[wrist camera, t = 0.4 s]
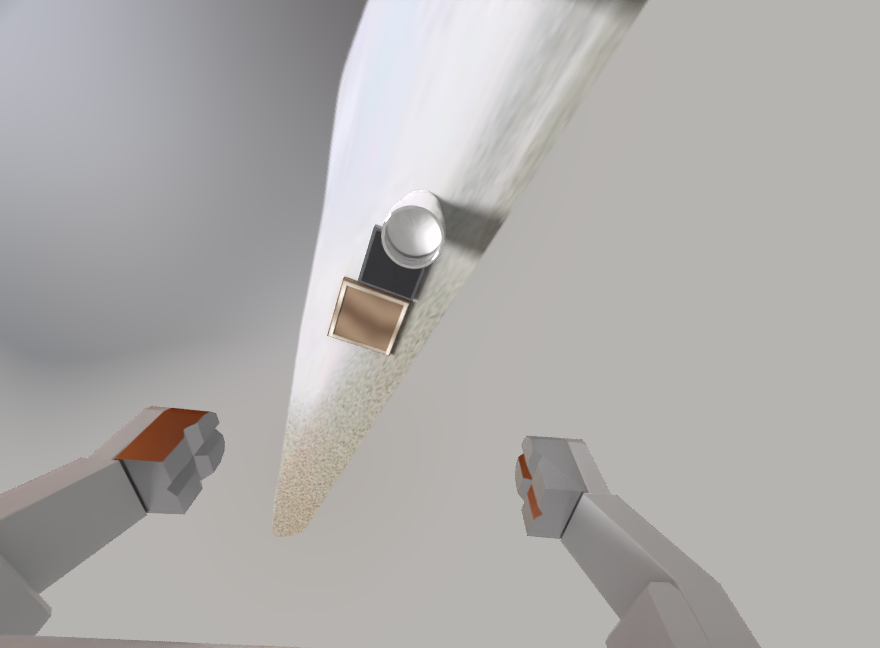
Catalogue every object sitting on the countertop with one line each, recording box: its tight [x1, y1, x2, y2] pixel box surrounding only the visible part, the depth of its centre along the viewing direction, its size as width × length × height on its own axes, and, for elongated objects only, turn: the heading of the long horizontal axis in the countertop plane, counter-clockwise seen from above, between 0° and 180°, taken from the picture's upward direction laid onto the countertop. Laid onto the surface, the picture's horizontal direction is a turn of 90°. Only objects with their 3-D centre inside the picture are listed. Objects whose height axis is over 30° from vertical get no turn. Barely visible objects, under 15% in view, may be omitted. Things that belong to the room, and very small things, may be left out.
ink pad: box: [358, 225, 426, 301], centre depth 50 cm, size 9×9×2 cm
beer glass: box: [381, 190, 446, 269], centre depth 41 cm, size 7×7×15 cm
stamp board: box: [327, 277, 411, 356], centre depth 55 cm, size 11×11×1 cm
